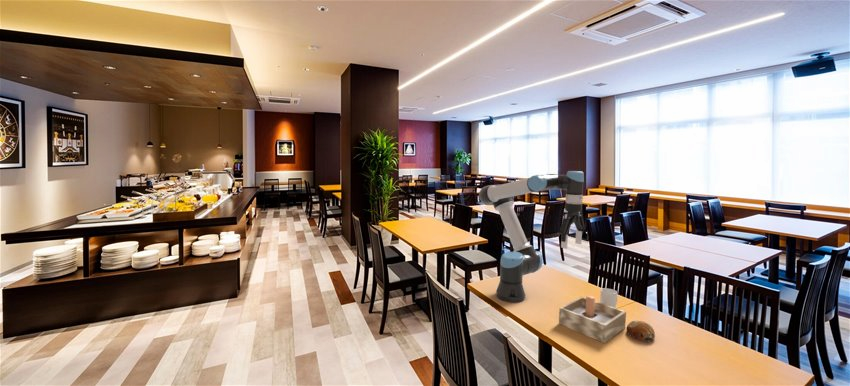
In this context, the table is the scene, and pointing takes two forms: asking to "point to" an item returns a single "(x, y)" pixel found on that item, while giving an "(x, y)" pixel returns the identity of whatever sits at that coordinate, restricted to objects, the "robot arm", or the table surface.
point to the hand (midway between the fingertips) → (571, 245)
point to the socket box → (593, 319)
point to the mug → (608, 297)
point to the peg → (590, 306)
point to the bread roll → (640, 331)
